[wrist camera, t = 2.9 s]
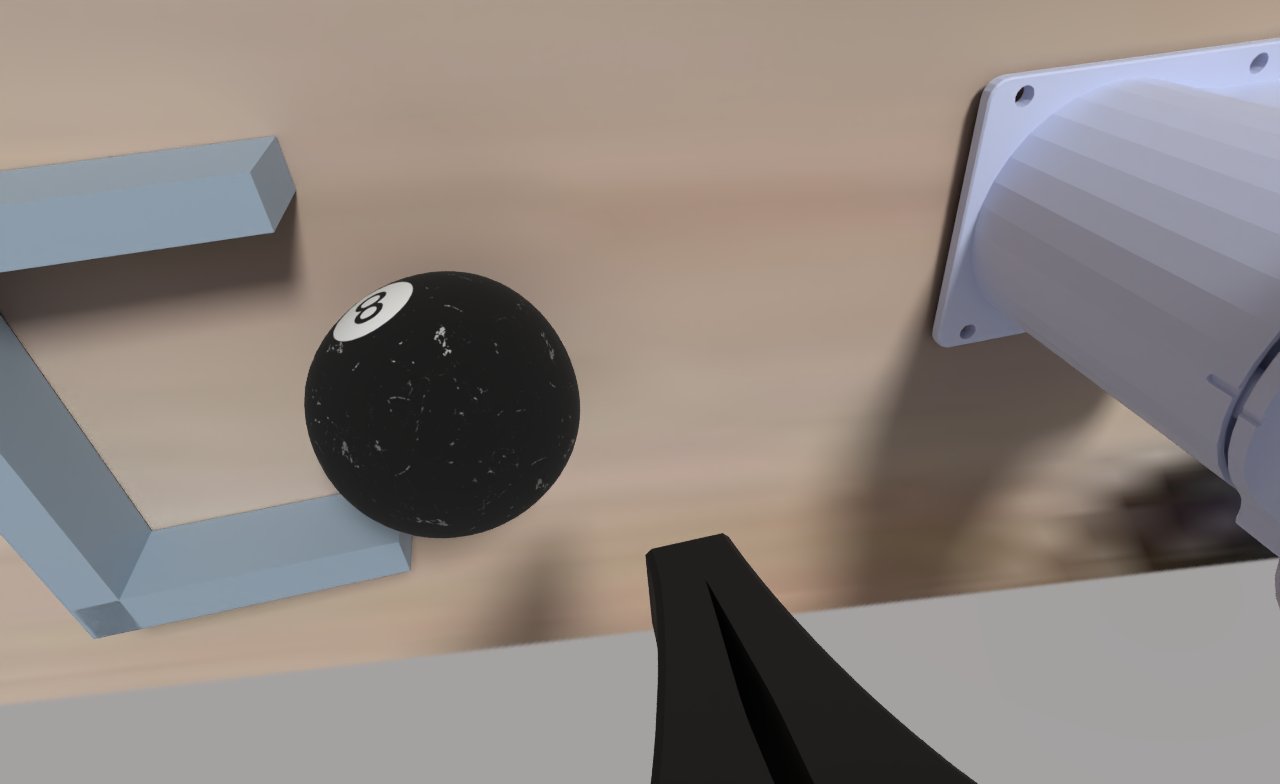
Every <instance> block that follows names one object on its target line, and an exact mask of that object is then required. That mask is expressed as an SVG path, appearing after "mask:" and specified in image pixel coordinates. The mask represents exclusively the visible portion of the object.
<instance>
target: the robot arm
mask: <svg viewBox="0 0 1280 784" xmlns="http://www.w3.org/2000/svg"><path fill="white" fill-rule="evenodd" d="M1252 61H1253V62H1252ZM1022 87H1024V92H1023V95H1022V97H1021V98H1020V99H1019V100H1018V101H1017V102H1015V97H1016V95H1017V92H1018V91H1019V90H1020V89H1021V88H1022ZM965 326H967V327H966V329H965V330H964V331H962V332H961V330H962V329H963V328H964V327H965ZM1021 333H1028V334H1029V335H1031V336H1032V337H1033V338H1035V339H1036V340H1037V341H1039V342H1040V343H1042V344H1043V345H1044V346H1046V347H1047V348H1048V349H1050V350H1051V351H1052V352H1054V353H1055V354H1056V355H1058V356H1059V357H1060V358H1062V359H1063V360H1064V361H1066V362H1067V363H1068V364H1070V365H1071V366H1072V367H1074V368H1075V369H1076V370H1078V371H1079V372H1080V373H1082V374H1083V375H1084V376H1086V377H1087V378H1088V379H1090V380H1091V381H1092V382H1094V383H1095V384H1096V385H1098V386H1099V387H1100V388H1102V389H1103V390H1104V391H1106V392H1107V393H1108V394H1110V395H1111V396H1112V397H1114V398H1115V399H1116V400H1118V401H1119V402H1120V403H1122V404H1123V405H1124V406H1126V407H1127V408H1128V409H1130V410H1131V411H1132V412H1134V413H1135V414H1136V415H1138V416H1139V417H1140V418H1142V419H1143V420H1144V421H1146V422H1147V423H1148V424H1150V425H1151V426H1152V427H1154V428H1155V429H1156V430H1158V431H1159V432H1160V433H1162V434H1163V435H1164V436H1166V437H1167V438H1168V439H1170V440H1171V441H1172V442H1174V443H1175V444H1176V445H1178V446H1179V447H1180V448H1182V449H1183V450H1184V451H1186V452H1187V453H1188V454H1190V455H1191V456H1192V457H1194V458H1195V459H1196V460H1198V461H1199V462H1200V463H1202V464H1203V465H1204V466H1206V467H1207V468H1208V469H1210V470H1211V471H1212V472H1214V473H1215V474H1216V475H1218V476H1219V477H1220V478H1222V479H1223V480H1224V481H1226V482H1227V483H1228V484H1230V485H1231V486H1232V487H1234V488H1235V489H1236V490H1238V492H1239V493H1240V495H1241V498H1242V503H1241V508H1240V511H1239V513H1238V515H1237V518H1236V523H1237V524H1238V525H1239V526H1241V527H1242V528H1243V529H1244V530H1246V531H1247V532H1248V533H1249V534H1251V535H1252V536H1253V537H1254V538H1256V539H1257V540H1258V541H1259V542H1261V543H1262V544H1263V545H1265V546H1266V547H1267V548H1268V549H1270V550H1271V551H1272V552H1273V553H1275V554H1276V555H1277V556H1278V557H1280V37H1279V38H1272V39H1264V40H1257V41H1249V42H1242V43H1235V44H1227V45H1220V46H1212V47H1205V48H1198V49H1190V50H1183V51H1175V52H1168V53H1161V54H1153V55H1146V56H1138V57H1131V58H1124V59H1116V60H1109V61H1102V62H1094V63H1087V64H1079V65H1072V66H1065V67H1057V68H1050V69H1042V70H1035V71H1028V72H1020V73H1013V74H1005V75H1001V76H998V77H996V78H994V79H993V80H992V81H991V82H989V83H988V85H987V86H986V88H985V89H984V91H983V93H982V96H981V99H980V104H979V109H978V114H977V119H976V123H975V128H974V133H973V138H972V143H971V148H970V152H969V157H968V162H967V167H966V172H965V177H964V181H963V186H962V191H961V196H960V201H959V206H958V210H957V215H956V220H955V225H954V230H953V235H952V239H951V244H950V249H949V254H948V259H947V264H946V268H945V273H944V278H943V283H942V288H941V293H940V297H939V302H938V307H937V312H936V317H935V322H934V326H933V331H932V337H933V339H934V340H935V341H936V342H937V343H938V344H939V345H940V346H942V347H954V346H959V345H964V344H970V343H975V342H980V341H985V340H990V339H995V338H1001V337H1006V336H1011V335H1016V334H1021ZM645 556H646V566H647V576H648V586H649V596H650V606H651V615H652V624H653V628H654V633H655V637H656V642H657V647H658V691H657V713H656V732H655V745H654V757H653V768H652V777H651V784H977V783H976V782H975V781H973V780H972V779H970V778H969V777H968V776H967V775H965V774H964V773H963V772H961V771H960V770H959V769H957V768H956V767H955V766H953V765H952V764H951V763H950V762H948V761H947V760H946V759H945V758H943V757H942V756H941V755H940V754H938V753H937V752H936V751H935V750H934V749H932V748H931V747H930V746H929V745H927V744H926V743H925V742H924V741H923V740H921V739H920V738H919V737H918V736H916V735H915V734H914V733H913V732H911V731H910V730H909V729H908V728H907V727H906V726H905V725H904V724H902V723H901V722H900V721H899V720H898V719H896V718H895V717H894V716H893V715H892V714H891V713H890V712H889V711H887V710H886V709H885V708H884V707H883V706H882V705H881V704H880V703H879V702H878V701H876V700H875V699H874V698H873V697H872V696H871V695H870V694H869V693H868V692H867V691H866V690H865V689H863V688H862V687H861V686H860V685H859V684H858V683H857V682H856V681H855V680H854V679H853V678H852V677H851V676H850V675H849V674H848V673H847V672H846V671H845V670H844V669H843V668H842V667H841V666H840V665H839V664H838V663H836V661H834V660H833V658H832V657H831V656H830V655H829V654H828V653H827V652H826V651H825V650H824V649H823V648H822V647H821V646H820V645H819V644H818V643H817V642H816V641H815V640H814V639H813V638H812V637H811V636H810V634H809V633H808V632H807V631H806V630H805V629H804V628H803V627H802V626H801V625H800V624H799V622H798V621H797V620H796V619H795V618H794V617H793V616H792V615H791V614H790V613H789V612H788V610H787V609H786V608H785V607H784V606H783V605H782V604H781V602H780V601H779V600H778V599H777V598H776V597H775V596H774V594H773V593H772V592H771V591H770V590H769V588H768V587H767V586H766V585H765V584H764V582H763V581H762V580H761V579H760V578H759V576H758V575H757V574H756V573H755V571H754V570H753V569H752V568H751V566H750V565H749V564H748V562H747V561H746V560H745V559H744V557H743V556H742V554H741V553H740V552H739V550H738V549H737V548H736V546H735V545H734V544H733V542H732V541H731V539H730V538H729V537H728V536H726V535H725V534H723V533H721V534H717V535H712V536H708V537H703V538H699V539H694V540H690V541H685V542H681V543H676V544H672V545H667V546H663V547H658V548H654V549H651V550H650V551H649V552H648V553H647V554H646V555H645ZM1275 588H1276V599H1277V602H1278V605H1279V608H1280V559H1279V563H1278V567H1277V571H1276V574H1275Z"/></svg>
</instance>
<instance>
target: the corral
mask: <svg viewBox="0 0 1280 784" xmlns="http://www.w3.org/2000/svg"><path fill="white" fill-rule="evenodd" d="M295 191H296V189H295V186H294V183H293V180H292V178H291V175H290V172H289V170H288V167H287V164H286V161H285V159H284V156H283V153H282V151H281V148H280V145H279V142H278V140H277V137H276V136H272V137H264V138H256V139H249V140H241V141H233V142H225V143H217V144H210V145H202V146H194V147H186V148H178V149H171V150H163V151H155V152H147V153H139V154H131V155H124V156H116V157H108V158H100V159H92V160H85V161H77V162H69V163H61V164H53V165H46V166H38V167H30V168H22V169H14V170H7V171H0V272H7V271H14V270H20V269H27V268H34V267H41V266H48V265H55V264H61V263H68V262H75V261H82V260H89V259H96V258H102V257H109V256H116V255H123V254H130V253H137V252H143V251H150V250H157V249H164V248H171V247H178V246H184V245H191V244H198V243H205V242H212V241H219V240H225V239H232V238H239V237H246V236H253V235H260V234H266V233H273V232H275V230H276V228H277V226H278V224H279V222H280V220H281V218H282V216H283V214H284V212H285V211H286V209H287V207H288V205H289V203H290V201H291V199H292V197H293V195H294V193H295ZM0 534H1V535H2V536H3V538H4V539H5V540H6V541H7V542H8V543H9V544H10V545H11V547H12V548H13V549H14V550H15V551H16V552H17V553H18V554H19V556H20V557H21V558H22V559H23V560H24V561H25V562H26V563H27V565H28V566H29V567H30V568H31V569H32V570H33V571H34V572H35V574H36V575H37V576H38V577H39V578H40V579H41V580H42V581H43V583H44V584H45V585H46V586H47V587H48V588H49V589H50V590H51V592H52V593H53V594H54V595H55V596H56V597H57V598H58V599H59V601H60V602H61V603H62V604H63V605H64V606H65V607H66V608H67V610H68V611H69V612H70V613H71V614H72V615H73V616H74V617H75V619H76V620H77V621H78V622H79V623H80V624H81V625H82V626H83V628H84V629H85V630H86V631H87V632H88V633H89V634H90V635H91V637H92V638H93V639H96V638H101V637H106V636H110V635H115V634H119V633H124V632H129V631H133V630H138V629H143V628H147V627H152V626H157V625H161V624H166V623H170V622H175V621H180V620H184V619H189V618H194V617H198V616H203V615H208V614H212V613H217V612H221V611H226V610H231V609H235V608H240V607H245V606H249V605H254V604H259V603H263V602H268V601H272V600H277V599H282V598H286V597H291V596H296V595H300V594H305V593H310V592H314V591H319V590H324V589H328V588H333V587H337V586H342V585H347V584H351V583H356V582H361V581H365V580H370V579H375V578H379V577H384V576H388V575H393V574H398V573H402V572H407V571H410V566H411V548H412V535H410V534H406V533H403V532H399V531H396V530H393V529H391V528H388V527H386V526H384V525H382V524H380V523H378V522H376V521H374V520H372V519H371V518H369V517H367V516H366V515H364V514H363V513H362V512H360V511H359V510H358V509H356V508H355V507H354V506H353V505H352V504H350V503H349V502H348V501H347V500H346V499H345V498H344V497H343V496H342V495H341V494H336V495H331V496H326V497H321V498H316V499H311V500H306V501H301V502H296V503H291V504H286V505H281V506H276V507H271V508H266V509H260V510H255V511H250V512H245V513H240V514H235V515H230V516H225V517H220V518H215V519H210V520H205V521H200V522H195V523H190V524H185V525H180V526H175V527H170V528H165V529H159V530H154V531H151V529H150V528H149V526H148V525H147V523H146V522H145V521H144V519H143V518H142V516H141V515H140V513H139V512H138V511H137V509H136V508H135V506H134V505H133V503H132V502H131V501H130V499H129V498H128V496H127V495H126V493H125V492H124V491H123V489H122V488H121V486H120V485H119V483H118V482H117V481H116V479H115V478H114V476H113V475H112V473H111V472H110V471H109V469H108V468H107V466H106V465H105V463H104V462H103V461H102V459H101V458H100V456H99V455H98V453H97V452H96V451H95V449H94V448H93V446H92V445H91V443H90V442H89V441H88V439H87V438H86V436H85V435H84V433H83V432H82V431H81V429H80V428H79V426H78V425H77V423H76V422H75V421H74V419H73V418H72V416H71V415H70V413H69V412H68V411H67V409H66V408H65V406H64V405H63V403H62V402H61V401H60V399H59V398H58V396H57V395H56V393H55V392H54V391H53V389H52V388H51V386H50V385H49V383H48V382H47V381H46V379H45V378H44V376H43V375H42V373H41V372H40V371H39V369H38V368H37V366H36V365H35V363H34V362H33V361H32V359H31V358H30V356H29V355H28V353H27V352H26V350H25V349H24V348H23V346H22V345H21V343H20V342H19V340H18V339H17V338H16V336H15V335H14V333H13V332H12V330H11V329H10V328H9V326H8V325H7V323H6V322H5V320H4V319H3V318H2V316H1V315H0Z"/></svg>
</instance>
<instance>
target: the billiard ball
mask: <svg viewBox="0 0 1280 784" xmlns="http://www.w3.org/2000/svg"><path fill="white" fill-rule="evenodd" d="M304 407H305V418H306V425H307V429H308V434H309V437H310V441H311V444H312V447H313V449H314V452H315V454H316V456H317V458H318V461H319V463H320V465H321V467H322V468H323V470H324V472H325V473H326V475H327V477H328V478H329V480H330V481H331V482H332V484H333V485H334V486H335V487H336V489H337V490H338V491H339V492H340V494H341V495H342V496H343V497H344V498H345V499H346V500H347V501H348V502H349V503H350V504H352V505H353V506H354V507H355V508H356V509H358V510H359V511H360V512H362V513H363V514H364V515H366V516H367V517H369V518H371V519H372V520H374V521H376V522H378V523H380V524H382V525H384V526H386V527H388V528H391V529H393V530H396V531H399V532H403V533H406V534H410V535H415V536H420V537H428V538H453V537H461V536H468V535H473V534H477V533H481V532H484V531H487V530H490V529H493V528H496V527H498V526H500V525H502V524H505V523H506V522H508V521H510V520H512V519H514V518H515V517H517V516H519V515H520V514H522V513H523V512H525V511H526V510H527V509H529V508H530V507H531V506H532V505H533V504H535V503H536V502H537V501H538V500H539V499H540V498H541V497H542V496H543V495H544V494H545V493H546V492H547V491H548V490H549V489H550V487H551V486H552V485H553V484H554V483H555V481H556V480H557V479H558V477H559V476H560V474H561V472H562V471H563V469H564V467H565V466H566V464H567V462H568V460H569V458H570V456H571V453H572V451H573V448H574V445H575V442H576V438H577V433H578V428H579V420H580V399H579V390H578V385H577V380H576V376H575V373H574V369H573V366H572V363H571V361H570V358H569V356H568V354H567V351H566V349H565V347H564V345H563V344H562V342H561V340H560V338H559V337H558V335H557V333H556V332H555V330H554V329H553V328H552V326H551V325H550V323H549V322H548V321H547V320H546V319H545V317H544V316H543V315H542V314H541V313H540V312H539V311H538V310H537V309H536V308H535V307H534V306H533V305H532V304H531V303H530V302H528V301H527V300H526V299H525V298H523V297H522V296H521V295H520V294H518V293H517V292H515V291H513V290H512V289H510V288H509V287H507V286H505V285H503V284H501V283H499V282H497V281H494V280H491V279H489V278H486V277H483V276H479V275H476V274H471V273H465V272H455V271H441V272H429V273H424V274H418V275H414V276H410V277H407V278H403V279H401V280H398V281H395V282H392V283H390V284H388V285H386V286H384V287H381V288H379V289H378V290H376V291H374V292H373V293H371V294H369V295H368V296H366V297H365V298H364V299H362V300H361V301H359V302H358V303H357V304H355V305H354V306H353V307H352V308H351V309H350V310H348V311H347V312H346V313H345V314H344V315H343V316H342V317H341V318H340V320H339V321H338V322H337V323H336V324H335V325H334V326H333V327H332V329H331V330H330V331H329V333H328V334H327V335H326V337H325V338H324V340H323V341H322V343H321V345H320V347H319V348H318V350H317V352H316V354H315V356H314V359H313V361H312V364H311V366H310V369H309V373H308V377H307V381H306V386H305V401H304Z"/></svg>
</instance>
